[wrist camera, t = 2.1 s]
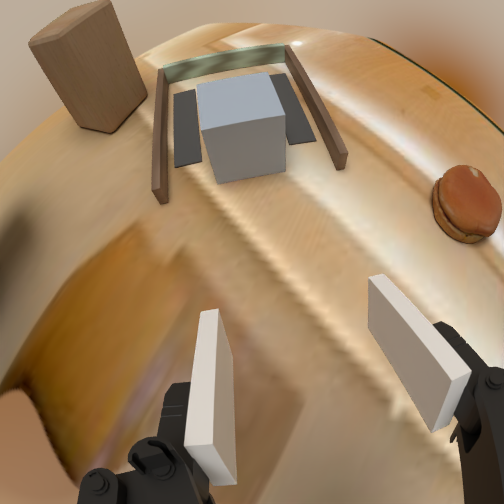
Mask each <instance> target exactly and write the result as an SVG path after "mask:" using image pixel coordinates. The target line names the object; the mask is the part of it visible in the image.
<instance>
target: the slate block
mask: <svg viewBox="0 0 504 504" xmlns="http://www.w3.org/2000/svg"><path fill="white" fill-rule="evenodd" d="M197 95H198V106H199V116H200V126H201V132H202V136H203V139H204V142H205V145H206V149H207V152H208V155H209V158H210V162H211V165H212V168H213V171H214V175H215V178H216V181H217V184H223V183H227V182H232V181H237V180H242V179H247V178H253V177H258V176H263V175H269V174H274V173H280V172H285V113H284V110H283V108H282V105H281V103H280V100H279V98H278V95H277V93H276V91H275V88H274V86H273V84H272V81H271V79H270V77H269V74H268V72H263V73H256V74H250V75H244V76H238V77H232V78H227V79H222V80H217V81H212V82H207V83H203V84H198V85H197Z"/></svg>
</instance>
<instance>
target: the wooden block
mask: <svg viewBox="0 0 504 504" xmlns="http://www.w3.org/2000/svg"><path fill="white" fill-rule="evenodd" d="M28 45H29V48H30V49H31V51H32V53H33V55H34V56H35V58H36V60H37V61H38V63H39V65H40V66H41V68H42V70H43V71H44V73H45V75H46V76H47V78H48V79H49V81H50V83H51V84H52V86H53V87H54V89H55V91H56V92H57V94H58V95H59V97H60V99H61V100H62V102H63V103H64V105H65V106H66V108H67V109H68V111H69V112H70V114H71V115H72V117H73V118H74V120H75V121H76V123H77V124H78V125H79V126H81V127H85V128H90V129H95V130H99V131H104V132H108V133H111V132H113V131H115V130H116V129H117V128H118V127H119V125H120V124H121V123H122V122H123V121H124V120H125V119H126V118H127V116H128V115H129V114H130V113H131V112H132V111H133V110H134V109H135V108H136V107H137V106H138V105H139V104H140V103H141V101H142V100H143V99H144V98H145V97H146V95H147V90H146V88H145V85H144V83H143V81H142V78H141V76H140V73H139V71H138V68H137V66H136V64H135V61H134V59H133V57H132V54H131V51H130V49H129V46H128V44H127V41H126V39H125V37H124V34H123V31H122V28H121V26H120V23H119V21H118V18H117V16H116V13H115V10H114V8H113V5H112V3H111V1H110V0H99V1H95V2H91V3H87V4H84V5H81V6H77V7H74V8H71V9H69V10H68V11H67V12H65V13H64V14H62V15H61V16H60V17H58V18H57V19H55V20H54V21H52V22H51V23H50V24H49V25H47V26H46V27H45V28H43V29H42V30H41V31H39V32H38V33H37V34H36V35H34V36H33V37H32V38H31V39H30V41H29V42H28Z"/></svg>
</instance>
